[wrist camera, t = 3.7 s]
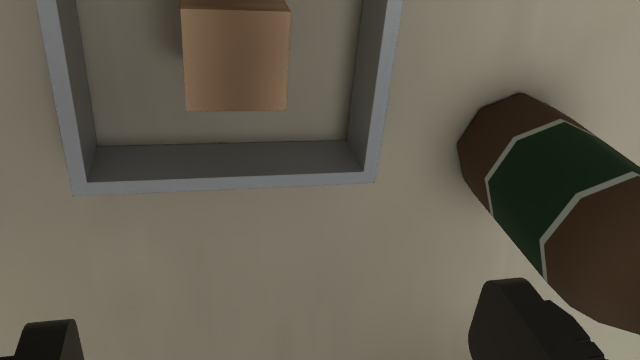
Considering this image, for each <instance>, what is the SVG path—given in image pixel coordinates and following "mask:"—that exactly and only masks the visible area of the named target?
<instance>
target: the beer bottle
mask: <svg viewBox="0 0 640 360" xmlns="http://www.w3.org/2000/svg"><path fill="white" fill-rule="evenodd" d="M458 149H459V154H460V159H461V164H462V169H463V175H464V180H465V181H466V183H467V184H468V186H469V187H470V189H471V190H472V192H473V193H474V194H475V196H476V197H477V198H478V199H479V201H480V202H481V203H482V204H483V205H484V207H485V208H486V209H487V210H488V212H489V213H490V214H491V215H492V216H493V218H494V219H495V220H496V221H497V223H498V224H499V225H500V226H501V227H502V229H503V230H504V231H505V232H506V233H507V235H508V236H509V237H510V238H511V240H512V241H513V242H514V243H515V244H516V246H517V247H518V248H519V249H520V250H521V252H522V253H523V254H524V255H525V257H526V258H527V259H528V260H529V261H530V263H531V264H532V265H533V266H534V268H535V269H536V270H537V271H538V272H539V274H540V275H541V276H542V277H543V278H544V280H545V281H546V282H547V283H548V284H549V285H550V286H551V287H552V288H553V289H554V290H555V292H556V293H557V294H558V295H559V296H560V297H561V298H562V299H563V300H564V301H565V302H566V303H567V304H568V305H569V306H571V307H572V308H574V309H576V310H578V311H579V312H581V313H583V314H585V315H586V316H588V317H590V318H592V319H593V320H595V321H597V322H599V323H602V324H606V325H609V326H612V327H616V328H619V329H622V330H626V331H629V332H632V333H636V334H639V335H640V167H639V166H637V165H636V164H635V163H633V162H632V161H630V160H629V159H628V158H626V157H625V156H623V155H622V154H621V153H619V152H618V151H616V150H615V149H614V148H612V147H611V146H609V145H608V144H607V143H605V142H604V141H602V140H601V139H600V138H598V137H597V136H595V135H594V134H593V133H591V132H590V131H588V130H587V129H586V128H584V127H583V126H581V125H580V124H579V123H577V122H576V121H574V120H573V119H571V118H570V117H568V116H566V115H565V114H563V113H561V112H560V111H558V110H556V109H555V108H553V107H551V106H549V105H547V104H544V103H542V102H540V101H538V100H536V99H534V98H532V97H530V96H528V95H526V94H524V93H523V94H518V95H516V96H513V97H511V98H508V99H505V100H503V101H500V102H498V103H495V104H493V105H490V106H488V107H485V108H483V109H481V110H480V111H479V113H478V114H477V116H476V117H475V119H474V121H473V122H472V124H471V125H470V127H469V128H468V130H467V131H466V133H465V134H464V136H463V137H462V139H461V140H460V142H459V143H458Z"/></svg>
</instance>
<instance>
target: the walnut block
mask: <svg viewBox="0 0 640 360" xmlns="http://www.w3.org/2000/svg"><path fill="white" fill-rule="evenodd" d="M180 12H181V30H182V49H183V68H184V86H185V105H186V112H209V111H286V101H287V81H288V61H289V42H290V22H291V11H290V9H289V8H288V6H287V5H286V3H285V1H284V0H181V4H180Z"/></svg>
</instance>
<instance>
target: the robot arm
mask: <svg viewBox="0 0 640 360" xmlns="http://www.w3.org/2000/svg"><path fill="white" fill-rule="evenodd" d="M468 343H469V349H470V353H471V357H472V359H473V360H606V359H605V358H604V354H603V353H602V351H601V350H600V349H599V348H598V347H597V345H596V344H595V343H594V342H591V341H590V337H589V336H588V334H587V333H586V332H585V331H584V330H583V328H582V327H581V326H580V325H579V323H578V322H577V321H576V320H575V319H574V317H572V316H571V315H570V314H568V313H567V312H566V311H564V310H563V309H561V308H560V307H559V306H557V305H556V304H555V303H553V302H552V301H550V300H546V301H544V300H543V299H542V298H541V296H540V295H539V294H538V293H537V291H536V290H535V289H534V287H533V286H532V285H531V284H530V283H529V281H527V280H526V279H524V278H511V279H501V280H490V281H487V282H486V283H485V284H484V285H483V288H482V291H481V294H480V297H479V300H478V304H477V307H476V310H475V313H474V316H473V320H472V323H471V326H470V329H469V334H468ZM0 360H84V356H83V352H82V347H81V343H80V338H79V334H78V329H77V325H76V322H75V320H74V319H65V320H55V321H44V322H34V323H27V324H26V325H25V327H24V328H23V331H22V334H21V337H20V340H19V343H18V346H17V349H16V352H15V355H14V356H7V357H0ZM607 360H608V359H607Z"/></svg>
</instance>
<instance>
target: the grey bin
mask: <svg viewBox="0 0 640 360" xmlns="http://www.w3.org/2000/svg"><path fill="white" fill-rule="evenodd" d="M36 5H37V10H38V15H39V21H40V26H41V31H42V36H43V42H44V47H45V52H46V58H47V63H48V68H49V74H50V79H51V84H52V90H53V95H54V100H55V105H56V111H57V116H58V121H59V127H60V132H61V137H62V143H63V148H64V153H65V158H66V164H67V169H68V174H69V180H70V185H71V190H72V196H93V195H115V194H138V193H161V192H183V191H206V190H228V189H251V188H274V187H296V186H319V185H341V184H364V183H375V180H376V173H377V167H378V160H379V154H380V147H381V141H382V134H383V128H384V122H385V115H386V109H387V102H388V96H389V89H390V83H391V76H392V70H393V63H394V57H395V50H396V44H397V37H398V31H399V25H400V18H401V12H402V5H403V0H363V4H362V13H361V21H360V30H359V38H358V47H357V55H356V64H355V72H354V81H353V89H352V98H351V107H350V115H349V124H348V132H347V140H336V141H297V142H259V143H220V144H181V145H142V146H104V147H97V141H96V135H95V128H94V121H93V115H92V108H91V102H90V95H89V88H88V82H87V75H86V69H85V62H84V55H83V49H82V42H81V36H80V29H79V23H78V16H77V9H76V3H75V0H36Z"/></svg>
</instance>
